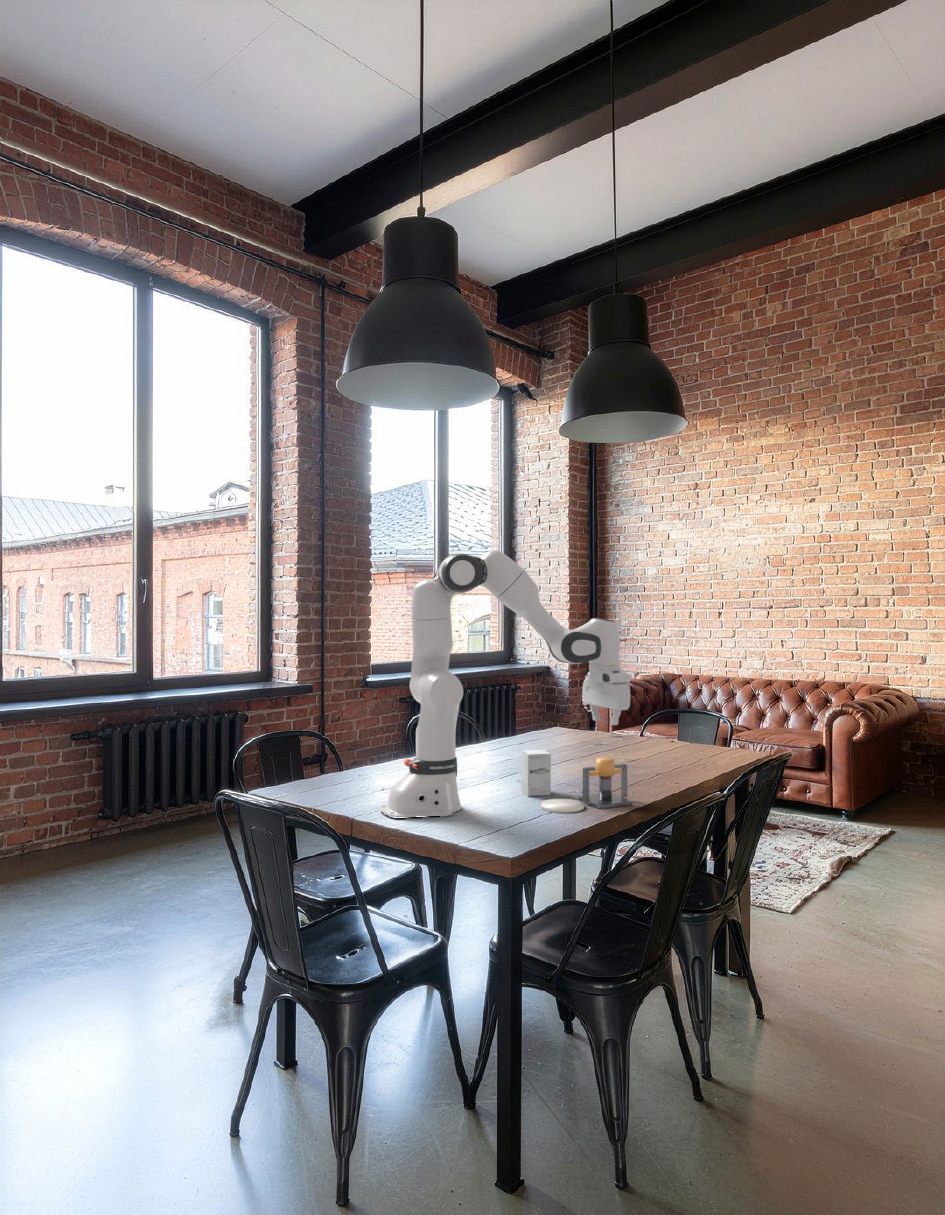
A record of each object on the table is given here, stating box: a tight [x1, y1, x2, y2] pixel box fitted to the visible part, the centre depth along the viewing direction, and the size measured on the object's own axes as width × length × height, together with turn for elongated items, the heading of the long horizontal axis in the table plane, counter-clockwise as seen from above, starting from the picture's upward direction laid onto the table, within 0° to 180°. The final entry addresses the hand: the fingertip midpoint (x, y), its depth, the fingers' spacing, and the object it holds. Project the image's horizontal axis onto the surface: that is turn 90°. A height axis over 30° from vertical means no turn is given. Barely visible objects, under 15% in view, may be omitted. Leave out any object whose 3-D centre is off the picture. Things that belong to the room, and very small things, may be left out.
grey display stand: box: [578, 763, 634, 809], centre depth 225 cm, size 14×11×10 cm
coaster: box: [540, 798, 585, 814], centre depth 219 cm, size 12×12×1 cm
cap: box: [589, 757, 622, 777], centre depth 225 cm, size 10×5×4 cm, turn 113°
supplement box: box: [521, 749, 552, 797], centre depth 236 cm, size 7×7×13 cm
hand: (605, 722), depth 225 cm, fingers open, 8 cm apart
